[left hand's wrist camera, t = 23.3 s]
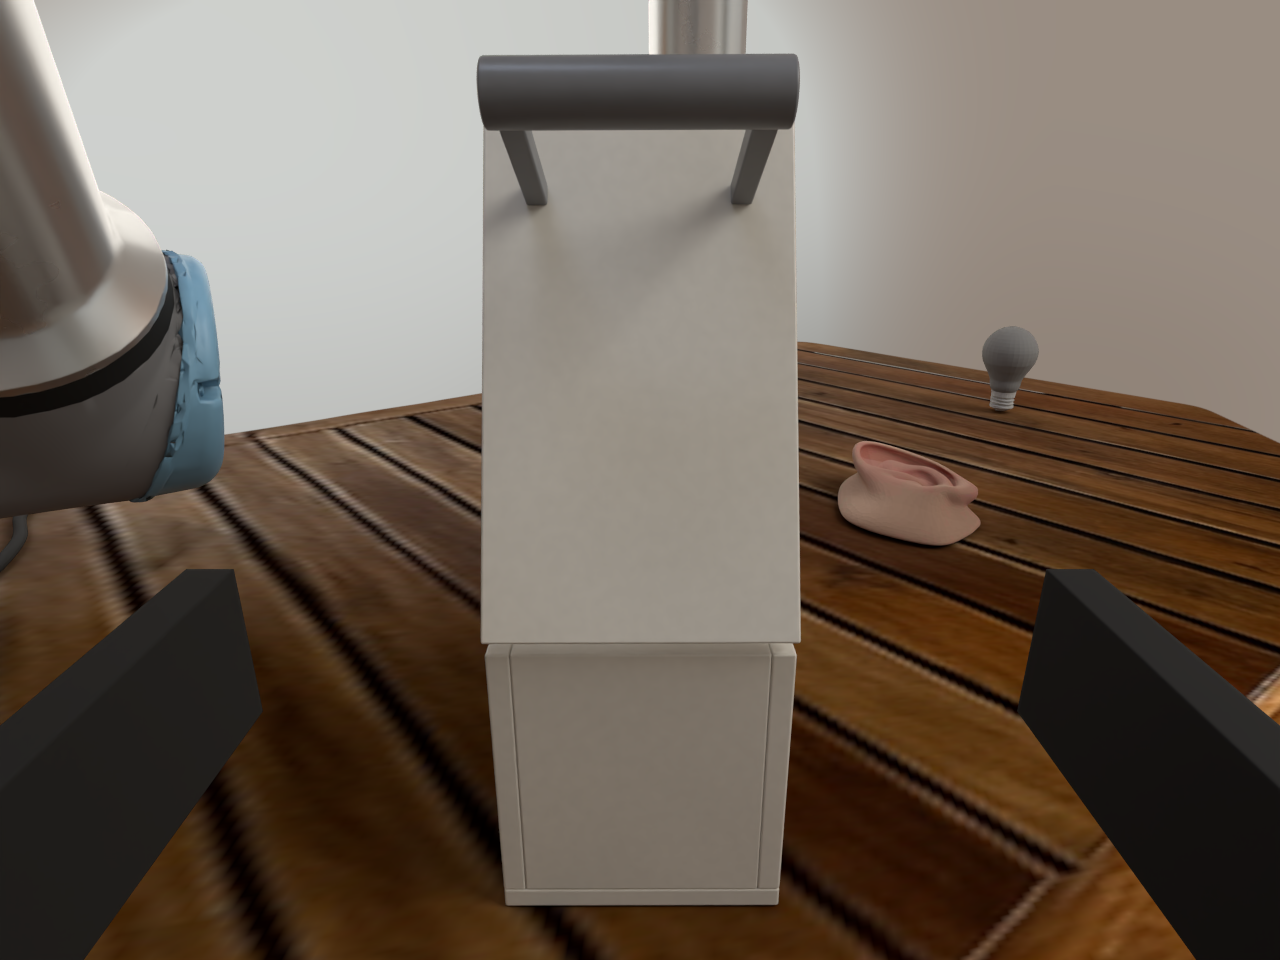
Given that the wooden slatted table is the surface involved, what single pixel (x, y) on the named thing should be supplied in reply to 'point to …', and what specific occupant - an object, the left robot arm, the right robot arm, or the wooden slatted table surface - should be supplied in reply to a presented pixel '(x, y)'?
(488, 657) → the chest
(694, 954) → the wooden slatted table surface
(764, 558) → the lid
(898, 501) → the anatomical model
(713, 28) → the right robot arm
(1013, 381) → the light bulb
